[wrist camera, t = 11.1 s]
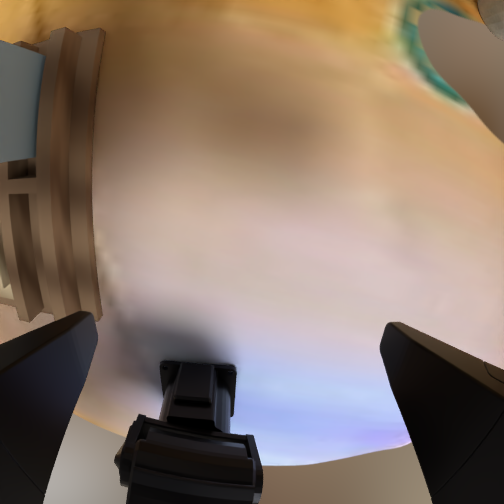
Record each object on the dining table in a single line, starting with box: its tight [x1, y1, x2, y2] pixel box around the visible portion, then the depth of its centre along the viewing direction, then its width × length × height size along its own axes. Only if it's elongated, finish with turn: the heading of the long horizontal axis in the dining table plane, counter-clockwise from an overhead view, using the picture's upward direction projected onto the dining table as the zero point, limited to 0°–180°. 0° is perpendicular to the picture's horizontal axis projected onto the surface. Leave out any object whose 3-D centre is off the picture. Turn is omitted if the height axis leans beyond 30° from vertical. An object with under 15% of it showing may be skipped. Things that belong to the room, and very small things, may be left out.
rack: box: [0, 27, 106, 322], centre depth 17 cm, size 22×14×4 cm, turn 175°
